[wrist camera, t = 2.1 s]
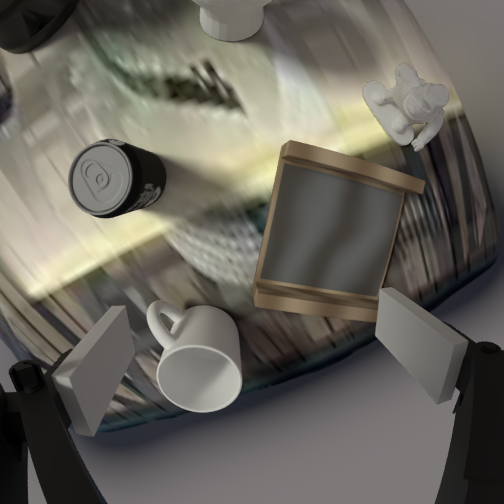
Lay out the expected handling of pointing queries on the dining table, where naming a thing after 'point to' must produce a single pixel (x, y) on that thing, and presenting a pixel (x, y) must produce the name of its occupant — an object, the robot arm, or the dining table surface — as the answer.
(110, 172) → the beverage can
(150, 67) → the dining table surface
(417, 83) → the figurine
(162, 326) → the mug
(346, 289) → the wooden tray
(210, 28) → the cup
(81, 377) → the robot arm
